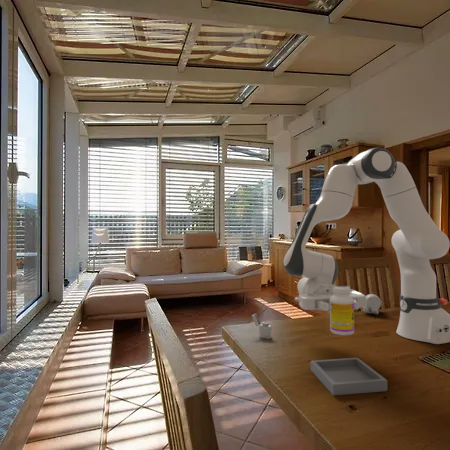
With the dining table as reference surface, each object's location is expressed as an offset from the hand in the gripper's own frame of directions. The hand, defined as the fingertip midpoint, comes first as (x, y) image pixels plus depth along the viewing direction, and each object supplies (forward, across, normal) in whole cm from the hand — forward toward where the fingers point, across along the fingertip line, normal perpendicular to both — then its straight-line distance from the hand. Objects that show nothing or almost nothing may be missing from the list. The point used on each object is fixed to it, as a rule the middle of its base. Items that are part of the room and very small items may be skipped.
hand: (343, 307), depth 97 cm
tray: (+8, -3, +17) cm, 19 cm away
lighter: (-28, -17, +17) cm, 37 cm away
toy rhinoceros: (-51, +39, +18) cm, 66 cm away
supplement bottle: (-1, 0, +8) cm, 8 cm away
